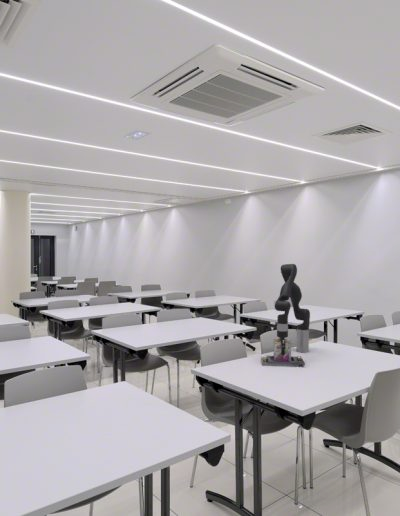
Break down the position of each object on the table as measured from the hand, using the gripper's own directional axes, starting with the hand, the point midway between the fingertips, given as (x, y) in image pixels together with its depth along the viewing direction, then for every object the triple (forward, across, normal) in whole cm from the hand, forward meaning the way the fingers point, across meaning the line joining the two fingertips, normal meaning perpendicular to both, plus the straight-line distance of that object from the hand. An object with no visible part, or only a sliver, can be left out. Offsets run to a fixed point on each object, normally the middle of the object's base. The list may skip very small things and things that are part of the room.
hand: (282, 353), depth 270 cm
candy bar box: (+7, 0, 0) cm, 7 cm away
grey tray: (+7, 0, 0) cm, 7 cm away
